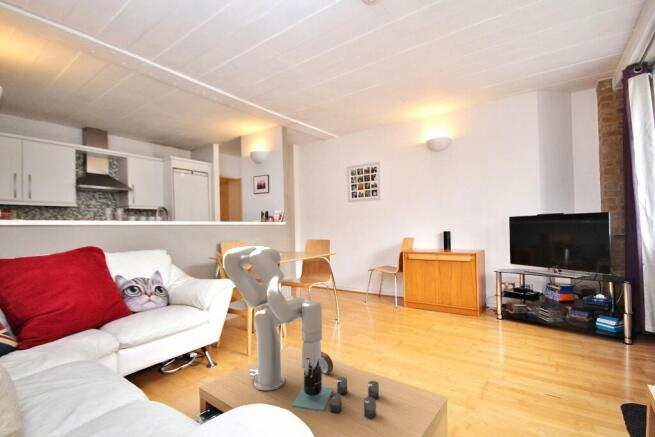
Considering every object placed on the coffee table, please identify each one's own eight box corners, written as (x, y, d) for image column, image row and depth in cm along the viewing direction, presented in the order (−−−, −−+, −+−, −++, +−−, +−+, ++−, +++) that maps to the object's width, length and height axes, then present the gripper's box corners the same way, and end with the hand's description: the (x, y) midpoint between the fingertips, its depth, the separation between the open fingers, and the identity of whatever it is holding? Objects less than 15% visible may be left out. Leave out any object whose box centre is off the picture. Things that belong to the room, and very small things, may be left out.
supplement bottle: (319, 397, 112) (319, 364, 112) (301, 395, 113) (301, 363, 113) (323, 387, 119) (323, 356, 119) (306, 385, 120) (306, 354, 120)
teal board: (291, 406, 111) (291, 405, 111) (304, 385, 124) (304, 384, 124) (323, 411, 107) (323, 409, 107) (333, 389, 121) (333, 388, 121)
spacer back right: (367, 399, 114) (367, 385, 114) (368, 393, 118) (368, 380, 118) (378, 400, 113) (378, 387, 113) (379, 394, 117) (379, 381, 117)
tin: (333, 375, 132) (333, 355, 132) (328, 377, 130) (328, 358, 130) (311, 363, 143) (310, 345, 143) (306, 365, 141) (305, 347, 141)
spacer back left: (336, 395, 117) (335, 382, 117) (338, 389, 121) (338, 376, 121) (346, 396, 116) (346, 383, 116) (348, 390, 120) (348, 378, 120)
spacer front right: (363, 418, 103) (363, 403, 103) (365, 410, 107) (364, 396, 107) (375, 419, 102) (375, 404, 102) (376, 412, 106) (376, 398, 106)
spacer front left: (329, 412, 106) (328, 398, 106) (331, 406, 110) (331, 392, 110) (340, 414, 105) (340, 400, 105) (342, 407, 109) (342, 393, 109)
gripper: (309, 326, 125) (310, 369, 125) (294, 343, 108) (295, 393, 108) (327, 327, 123) (328, 371, 123) (314, 344, 106) (315, 396, 107)
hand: (312, 381), depth 116 cm, fingers closed on supplement bottle, 6 cm apart
